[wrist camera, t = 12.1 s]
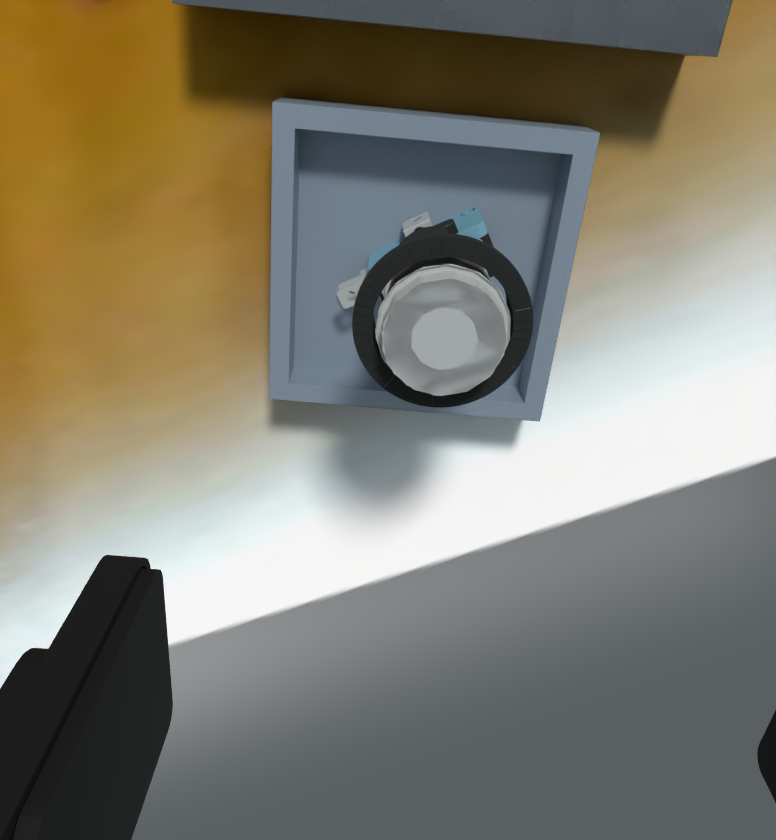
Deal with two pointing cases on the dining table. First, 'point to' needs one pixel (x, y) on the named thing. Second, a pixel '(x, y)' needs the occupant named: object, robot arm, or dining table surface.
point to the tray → (383, 225)
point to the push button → (440, 313)
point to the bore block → (526, 19)
